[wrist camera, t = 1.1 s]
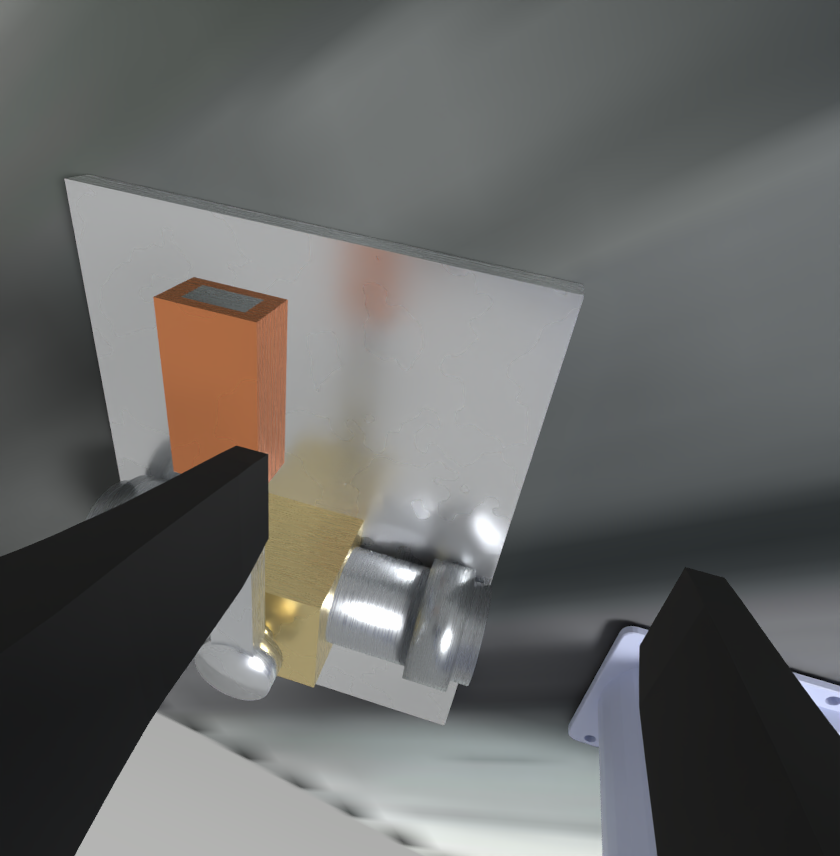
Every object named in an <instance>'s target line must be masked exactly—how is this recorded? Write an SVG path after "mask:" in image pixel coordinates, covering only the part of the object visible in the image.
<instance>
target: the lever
mask: <svg viewBox="0 0 840 856" xmlns="http://www.w3.org/2000/svg"><path fill="white" fill-rule="evenodd" d="M153 299H154V308H155V316H156V325H157V333H158V342H159V350H160V359H161V368H162V376H163V385H164V393H165V402H166V410H167V419H168V427H169V436H170V444H171V453H172V462H173V470H174V472H177V473H181V474H182V473H184V472H185V471H187V470H189V469H191V468H193V467H195V466H197V465H199V464H201V463H203V462H204V461H206V460H208V459H210V458H212V457H214V456H216V455H218V454H220V453H222V452H224V451H226V450H228V449H230V448H232V447H234V446H236V445H237V446H240V447H244V448H248V449H251V450H255V451H259V452H263V453H266V454H268V483H269V482H270V480H271V479H272V478H273V477H274V475H275V474H276V473H277V471H278V470H279V469H280V468H281V466H282V465H283V464H284V459H285V412H286V364H287V317H288V300H287V299H283V298H279V297H275V296H271V295H267V294H263V293H258V292H254V291H250V290H246V289H242V288H238V287H233V286H229V285H225V284H221V283H217V282H213V281H209V280H204V279H200V278H196V277H193V278H191V279H189V280H187V281H184V282H182V283H180V284H178V285H176V286H174V287H172V288H170V289H168V290H166V291H164V292H162V293H160V294H158V295H156V296H154V297H153ZM282 664H283V655H282V652H281V650H280V648H279V647H278V645H277V644H276V643H275V642H274V641H273V640H272V639H271V638H270V637H269V636H268V635H267V634H265V546H264V548H263V550H262V552H261V554H260V556H259V558H258V560H257V562H256V564H255V566H254V568H253V569H252V571H251V573H250V575H249V577H248V579H247V580H246V582H245V584H244V586H243V588H242V589H241V590H240V592H239V593H238V595H237V596H236V598H235V599H234V601H233V602H232V604H231V605H230V607H229V608H228V609H227V611H226V612H225V614H224V615H223V617H222V618H221V619H220V621H219V622H218V624H217V625H216V627H215V628H214V629H213V631H212V632H211V634H210V635H209V637H208V638H207V639H206V641H205V642H204V644H203V645H202V647H201V648H200V650H199V651H198V653H197V654H196V656H195V666H196V669H197V671H198V672H199V674H200V675H201V676H202V678H203V679H204V680H205V681H206V682H207V683H208V684H210V685H211V686H212V687H214V688H215V689H217V690H218V691H220V692H222V693H224V694H226V695H228V696H230V697H233V698H236V699H241V700H248V701H253V700H259V699H262V698H264V697H265V696H266V695H267V694H268V692H269V690H270V688H271V686H272V684H273V682H274V680H275V679H276V677H277V675H278V673H279V671H280V669H281V667H282Z"/></svg>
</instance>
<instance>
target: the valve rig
mask: <svg viewBox="0 0 840 856" xmlns="http://www.w3.org/2000/svg"><path fill="white" fill-rule="evenodd" d="M65 185H66V190H67V195H68V201H69V206H70V212H71V217H72V222H73V228H74V233H75V239H76V244H77V249H78V255H79V260H80V265H81V271H82V276H83V282H84V287H85V292H86V298H87V303H88V309H89V314H90V319H91V325H92V330H93V335H94V341H95V346H96V352H97V357H98V362H99V368H100V373H101V379H102V384H103V389H104V395H105V400H106V405H107V411H108V416H109V422H110V427H111V432H112V438H113V443H114V449H115V454H116V459H117V465H118V470H119V475H120V482H118V483H116V484H114V485H112V486H111V487H110V488H108V489H107V490H106V491H105V492H104V493H103V494H102V495H101V496H100V497H99V498H98V500H97V501H96V502H95V504H94V505H93V507H92V508H91V510H90V512H89V514H88V516H87V518H86V520H88V519H90V518H92V517H95V516H97V515H99V514H101V513H103V512H105V511H108V510H110V509H112V508H114V507H116V506H119V505H121V504H123V503H125V502H127V501H129V500H131V499H133V498H135V497H137V496H139V495H141V494H143V493H145V492H146V491H148V490H150V489H152V488H154V487H156V486H158V485H160V484H162V483H164V482H166V481H168V480H170V479H172V478H174V477H176V476H178V475H180V474H181V473H177V472H174V470H173V462H172V453H171V444H170V436H169V427H168V419H167V410H166V402H165V393H164V385H163V376H162V368H161V359H160V350H159V342H158V333H157V325H156V316H155V308H154V299H153V297H154V296H156V295H158V294H160V293H162V292H164V291H166V290H168V289H170V288H172V287H174V286H176V285H178V284H180V283H182V282H184V281H187V280H189V279H191V278H193V277H196V278H200V279H204V280H209V281H213V282H217V283H221V284H225V285H229V286H233V287H238V288H242V289H246V290H250V291H254V292H258V293H263V294H267V295H271V296H275V297H279V298H283V299H287V300H288V317H287V364H286V412H285V459H284V464H283V465H282V466H281V468H280V469H279V470H278V471H277V473H276V474H275V475H274V477H273V478H272V479H271V480H270V482H269V483H268V490H269V539H268V541H267V543H266V544H265V634H267V635H268V636H269V637H270V638H271V639H272V640H273V641H274V642H275V643H276V644H277V645H278V647H279V648H280V650H281V652H282V655H283V664H282V667H281V669H280V671H279V673H278V675H277V676H280V677H283V678H286V679H289V680H292V681H295V682H298V683H301V684H304V685H308V686H311V687H314V686H315V684H318V685H321V686H324V687H327V688H330V689H333V690H336V691H339V692H342V693H345V694H348V695H351V696H355V697H358V698H361V699H364V700H367V701H370V702H373V703H376V704H379V705H382V706H385V707H388V708H391V709H394V710H398V711H401V712H404V713H407V714H410V715H413V716H416V717H419V718H422V719H425V720H428V721H431V722H434V723H437V724H441V725H444V726H445V723H446V719H447V716H448V713H449V710H450V707H451V704H452V701H453V698H454V695H455V692H456V689H457V686H458V683H459V684H462V685H465V686H468V685H469V683H470V681H471V678H472V675H473V672H474V669H475V666H476V662H477V658H478V655H479V651H480V647H481V643H482V639H483V635H484V630H485V626H486V621H487V616H488V611H489V606H490V600H491V593H492V586H491V585H490V584H491V581H492V578H493V575H494V572H495V569H496V566H497V562H498V559H499V556H500V553H501V550H502V547H503V544H504V541H505V538H506V535H507V532H508V529H509V525H510V522H511V519H512V516H513V513H514V510H515V507H516V504H517V501H518V498H519V495H520V492H521V489H522V485H523V482H524V479H525V476H526V473H527V470H528V467H529V464H530V461H531V458H532V455H533V452H534V449H535V445H536V442H537V439H538V436H539V433H540V430H541V427H542V424H543V421H544V418H545V415H546V412H547V408H548V405H549V402H550V399H551V396H552V393H553V390H554V387H555V384H556V381H557V378H558V375H559V372H560V368H561V365H562V362H563V359H564V356H565V353H566V350H567V347H568V344H569V341H570V338H571V335H572V331H573V328H574V325H575V322H576V319H577V316H578V313H579V310H580V307H581V304H582V301H583V298H584V285H583V284H578V283H574V282H569V281H565V280H560V279H556V278H551V277H547V276H542V275H538V274H533V273H529V272H524V271H520V270H516V269H511V268H507V267H502V266H498V265H493V264H489V263H484V262H480V261H475V260H471V259H466V258H462V257H457V256H453V255H448V254H444V253H439V252H435V251H430V250H426V249H421V248H417V247H412V246H408V245H403V244H399V243H394V242H390V241H385V240H381V239H376V238H372V237H367V236H363V235H358V234H354V233H349V232H345V231H340V230H336V229H331V228H327V227H322V226H318V225H313V224H309V223H304V222H300V221H295V220H291V219H287V218H282V217H278V216H273V215H269V214H264V213H260V212H255V211H251V210H246V209H242V208H237V207H233V206H228V205H224V204H219V203H215V202H210V201H206V200H201V199H197V198H192V197H188V196H183V195H179V194H174V193H170V192H165V191H161V190H156V189H152V188H147V187H143V186H138V185H134V184H129V183H125V182H120V181H116V180H111V179H107V178H102V177H98V176H93V175H89V174H87V175H81V176H76V177H70V178H65ZM86 520H85V521H86ZM201 647H202V646H201Z"/></svg>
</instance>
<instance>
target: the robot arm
mask: <svg viewBox="0 0 840 856" xmlns="http://www.w3.org/2000/svg"><path fill="white" fill-rule="evenodd" d="M268 539H269V490H268V454H266V453H263V452H259V451H255V450H251V449H248V448H244V447H240V446H237V445H236V446H234V447H232V448H230V449H228V450H226V451H224V452H222V453H220V454H218V455H216V456H214V457H212V458H210V459H208V460H206V461H204V462H203V463H201V464H199V465H197V466H195V467H193V468H191V469H189V470H187V471H185V472H184V473H182V474H180V475H178V476H176V477H174V478H172V479H170V480H168V481H166V482H164V483H162V484H160V485H158V486H156V487H154V488H152V489H150V490H148V491H146V492H145V493H143V494H141V495H139V496H137V497H135V498H133V499H131V500H129V501H127V502H125V503H123V504H121V505H119V506H116V507H114V508H112V509H110V510H108V511H105V512H103V513H101V514H99V515H97V516H95V517H92V518H90V519H88V520H86V521H84V522H82V523H79V524H77V525H75V526H73V527H71V528H69V529H66V530H64V531H62V532H60V533H58V534H55V535H53V536H51V537H48V538H46V539H44V540H41V541H39V542H37V543H34V544H32V545H29V546H27V547H24V548H22V549H19V550H17V551H14V552H12V553H9V554H7V555H4V556H1V557H0V856H74V855H75V854H76V852H77V850H78V848H79V846H80V844H81V843H82V841H83V839H84V837H85V835H86V833H87V832H88V830H89V828H90V826H91V824H92V823H93V821H94V819H95V817H96V815H97V813H98V812H99V810H100V808H101V806H102V804H103V803H104V800H105V799H106V797H107V795H108V794H109V792H110V790H111V788H112V786H113V784H114V783H115V781H116V779H117V777H118V776H119V774H120V772H121V771H122V769H123V767H124V765H125V764H126V762H127V760H128V758H129V757H130V755H131V753H132V751H133V750H134V748H135V746H136V745H137V743H138V741H139V739H140V737H141V736H142V734H143V732H144V731H145V729H146V727H147V725H148V724H149V722H150V721H151V719H152V717H153V716H154V714H155V713H156V711H157V710H158V708H159V707H160V705H161V704H162V702H163V701H164V699H165V698H166V696H167V695H168V693H169V692H170V690H171V689H172V688H173V686H174V685H175V683H176V682H177V680H178V679H179V678H180V676H181V675H182V673H183V672H184V671H185V669H186V668H187V666H188V665H189V663H190V662H191V661H192V659H193V658H194V656H195V655H196V654H197V652H198V651H199V649H200V648H201V646H202V645H203V644H204V642H205V641H206V639H207V638H208V637H209V635H210V634H211V632H212V631H213V629H214V628H215V627H216V625H217V624H218V622H219V621H220V619H221V618H222V617H223V615H224V614H225V612H226V611H227V609H228V608H229V607H230V605H231V604H232V602H233V601H234V599H235V598H236V596H237V595H238V593H239V592H240V590H241V589H242V588H243V586H244V584H245V582H246V580H247V579H248V577H249V575H250V573H251V571H252V569H253V568H254V566H255V564H256V562H257V560H258V558H259V556H260V554H261V552H262V550H263V548H264V546H265V544H266V543H267V541H268ZM568 734H569V736H570V737H571V738H572V739H574V740H577V741H580V742H583V743H586V744H589V745H592V746H595V747H599V763H600V794H601V825H602V856H840V686H839V685H835V684H832V683H828V682H825V681H822V680H818V679H815V678H811V677H808V676H804V675H801V674H798V673H794V672H792V671H791V669H790V668H789V667H788V665H787V664H786V663H785V661H784V660H783V658H782V657H781V656H780V654H779V653H778V651H777V650H776V649H775V647H774V646H773V644H772V643H771V642H770V640H769V639H768V637H767V636H766V635H765V633H764V632H763V630H762V629H761V627H760V626H759V625H758V623H757V622H756V620H755V619H754V618H753V616H752V615H751V613H750V612H749V611H748V609H747V608H746V606H745V605H744V604H743V602H742V601H741V599H740V598H739V597H738V595H737V594H736V593H735V591H734V590H733V588H732V587H731V586H730V585H729V583H728V582H727V581H726V579H725V578H723V577H719V576H715V575H712V574H708V573H704V572H701V571H697V570H693V569H690V568H686V567H685V569H684V570H683V572H682V574H681V576H680V577H679V579H678V581H677V582H676V584H675V586H674V588H673V589H672V591H671V593H670V594H669V596H668V598H667V600H666V601H665V603H664V605H663V606H662V608H661V610H660V612H659V613H658V615H657V617H656V618H655V620H654V622H653V624H652V625H651V627H650V629H649V630H647V629H643V628H640V627H636V626H627V627H625V628H623V629H622V630H621V631H620V632H619V634H618V636H617V638H616V640H615V641H614V643H613V645H612V647H611V649H610V651H609V652H608V654H607V656H606V658H605V660H604V661H603V663H602V665H601V667H600V669H599V670H598V672H597V674H596V676H595V678H594V680H593V681H592V683H591V685H590V687H589V689H588V690H587V692H586V694H585V696H584V698H583V699H582V701H581V703H580V705H579V707H578V709H577V710H576V712H575V714H574V716H573V718H572V719H571V721H570V723H569V725H568Z"/></svg>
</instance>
